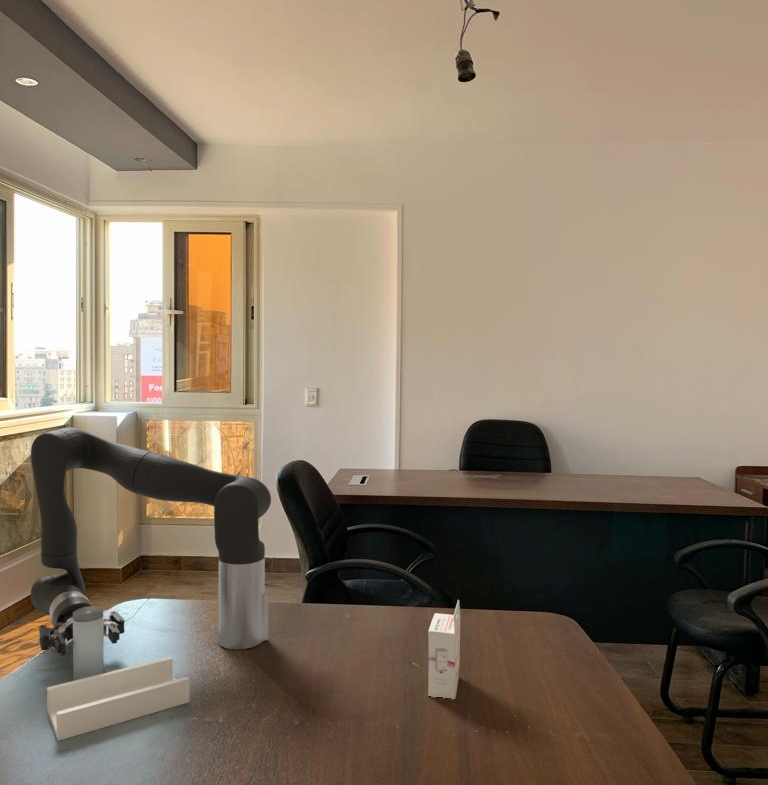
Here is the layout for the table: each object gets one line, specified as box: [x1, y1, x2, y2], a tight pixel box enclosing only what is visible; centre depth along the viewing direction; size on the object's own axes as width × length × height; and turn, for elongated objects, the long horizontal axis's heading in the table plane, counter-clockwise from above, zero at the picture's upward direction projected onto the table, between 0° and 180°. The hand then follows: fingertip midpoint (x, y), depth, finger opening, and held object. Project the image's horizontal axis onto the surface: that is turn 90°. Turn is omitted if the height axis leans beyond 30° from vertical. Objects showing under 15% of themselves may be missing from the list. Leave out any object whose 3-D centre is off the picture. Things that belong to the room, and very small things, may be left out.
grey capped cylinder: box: [72, 605, 105, 681], centre depth 117 cm, size 5×5×12 cm
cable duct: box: [46, 656, 190, 742], centre depth 107 cm, size 20×10×4 cm, turn 126°
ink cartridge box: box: [427, 599, 461, 700], centre depth 115 cm, size 9×5×15 cm, turn 168°
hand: (90, 643), depth 116 cm, fingers open, 8 cm apart
